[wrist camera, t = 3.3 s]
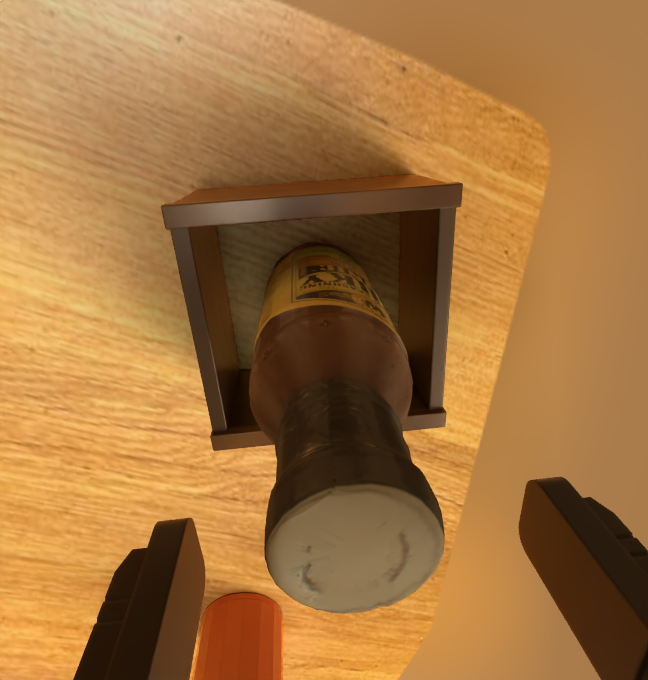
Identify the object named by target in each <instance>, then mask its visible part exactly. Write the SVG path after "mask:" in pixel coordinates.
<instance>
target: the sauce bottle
mask: <svg viewBox="0 0 648 680" xmlns="http://www.w3.org/2000/svg"><path fill="white" fill-rule="evenodd" d="M249 383H250V384H249V387H250V388H249V395H250V406H251V410H252V413H253V416H254V418H255V420H256V422H257V423H258V426H259V427H260V428H261V430H262V431H263V433H264V434H265V435H266V436H267V437H268V438H269V440H270V441H271V442H272V443H273V444H274V445H275V450H276V457H277V472H276V483H275V485H274V488H273V489H272V491H271V495H270V499H269V503H268V509H267V517H266V527H265V560H266V563H267V567H268V570H269V573H270V575H271V576H272V578H273V579H274V581H275V583H276V585H277V586H278V587H279V588H280V589H282V590H283V591H284V592H285V593H286V594H287V595H289V596H290V597H291V598H293V599H294V600H296V601H298V602H299V603H301V604H303V605H306V606H309V607H312V608H314V609H316V610H323V611H327V612H330V613H342V614H346V613H360V612H366V611H371V610H374V609H376V608H378V607H383V606H390V605H392V604H394V603H397V602H399V601H401V600H403V599H404V598H406V597H408V596H409V595H411V594H412V593H414V592H415V591H416V590H418V589H419V588H420V587H421V586H422V585H423V584H424V583H425V582H426V581H427V580H428V579H429V578H430V577H431V576H432V575H433V573H434V572H435V571H436V570H437V568H438V565H439V563H440V560H441V558H442V555H443V549H444V535H445V534H444V526H443V519H442V513H441V510H440V507H439V504H438V501H437V499H436V497H435V495H434V493H433V491H432V489H431V487H430V485H429V483H428V481H427V480H426V478H425V476H424V474H423V473H422V472H421V470H420V469H419V468H418V467H416V466H415V465H414V464H413V463H412V460H411V456H410V451H409V447H408V446H407V444H406V442H405V440H404V438H403V432H402V426H403V425H404V423H405V421H406V418H407V416H408V411H409V409H410V404H411V398H412V385H413V380H412V374H411V371H410V367H409V362H408V355H407V351H406V349H405V346H404V344H403V342H402V340H401V338H400V336H399V334H398V332H397V331H396V329H395V327H394V325H393V323H392V321H391V319H390V318H389V316H388V314H387V311H386V309H385V308H384V307H383V305H382V302H381V300H380V299H379V297H378V296H377V293H376V291H375V289H373V287H372V286H371V284H370V282H369V280H368V278H367V276H366V274H365V273H364V271H363V269H362V268H361V267H360V265H359V264H358V263H357V262H356V261H355V260H354V259H353V258H351V257H350V256H349V255H348V254H347V253H346V252H344V251H343V250H340V249H338V248H335V247H332V246H328V245H323V244H318V243H309V244H306V245H304V246H301V247H298V248H296V249H294V250H293V251H291V252H289V253H288V254H287V255H286V256H284V257H282V258H281V259H280V260H279V261H278V262H277V264H276V265H275V267H274V270H273V272H272V274H271V276H270V278H269V281H268V284H267V287H266V292H265V297H264V302H263V306H262V311H261V316H260V321H259V325H258V330H257V335H256V339H255V344H254V349H253V355H252V370H251V375H250V382H249Z"/></svg>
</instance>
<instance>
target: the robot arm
mask: <svg viewBox="0 0 648 680" xmlns="http://www.w3.org/2000/svg"><path fill="white" fill-rule="evenodd" d="M519 535H520V540H521V543H522V546H523V548H524V550H525V552H526V554H527V556H528V557H529V559H530V561H531V563H532V564H533V566H534V567H535V569H536V571H537V573H538V574H539V576H540V578H541V579H542V581H543V583H544V584H545V586H546V588H547V589H548V591H549V593H550V594H551V596H552V598H553V599H554V601H555V603H556V604H557V606H558V608H559V610H560V611H561V613H562V614H563V616H564V618H565V620H566V621H567V623H568V625H569V626H570V628H571V630H572V631H573V633H574V635H575V636H576V638H577V640H578V641H579V643H580V645H581V646H582V648H583V650H584V651H585V653H586V655H587V656H588V658H589V660H590V662H591V663H592V665H593V667H594V668H595V670H596V672H597V673H598V675H599V677H600V678H601V680H648V550H646V548H645V547H644V546H643V545H642V544H641V543H640V542H639V540H638V539H637V538H634V537H633V536H632V533H631V532H630V531H629V529H628V528H627V527H626V526H625V525H624V524H623V523H622V521H621V520H620V519H619V518H618V517H617V516H616V515H615V514H614V513H613V512H612V511H610V510H608V509H607V508H605V507H604V506H603V505H601V504H599V503H598V502H597V501H595V500H594V499H592V498H591V497H587V498H582V497H581V496H580V495H579V493H578V492H577V491H576V490H575V489H574V487H573V486H572V485H571V484H570V483H569V482H568V481H567V480H566V479H565V478H563V477H554V478H546V479H536V480H530V481H528V483H527V485H526V489H525V494H524V499H523V505H522V510H521V515H520V521H519ZM204 589H205V564H204V559H203V555H202V552H201V548H200V544H199V540H198V536H197V532H196V528H195V525H194V521H193V519H192V518H184V519H175V520H167V521H158V522H157V523H156V525H155V527H154V529H153V532H152V535H151V538H150V541H149V544H148V547H147V548H141V549H133V550H132V551H131V552H130V553H129V555H128V556H127V557H126V559H125V560H124V561H123V562H122V564H121V565H120V566H119V567H118V569H117V570H116V571H115V573H114V575H113V578H112V581H111V583H110V586H109V588H108V591H107V594H106V596H105V602H103V604H102V607H101V609H100V612H99V614H98V617H97V623H96V624H95V625H94V627H93V630H92V632H91V635H90V638H89V640H88V643H87V645H86V648H85V651H84V653H83V656H82V658H81V661H80V664H79V666H78V669H77V671H76V674H75V677H74V679H73V680H189V678H190V672H191V666H192V660H193V654H194V648H195V642H196V637H197V631H198V625H199V619H200V613H201V607H202V601H203V596H204Z"/></svg>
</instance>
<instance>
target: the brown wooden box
mask: <svg viewBox="0 0 648 680" xmlns="http://www.w3.org/2000/svg"><path fill="white" fill-rule="evenodd" d="M462 188H463V184H462V183H459V182H453V183H445V182H442V181H438V180H434V179H430V178H426V177H422V176H418V175H414V174H408V175H394V176H381V177H367V178H353V179H339V180H325V181H312V182H298V183H284V184H270V185H257V186H243V187H229V188H215V189H201V190H196V191H194V192H192V193H191V194H189V195H187V196H185V197H184V198H182V199H180V200H178V201H177V202H175V203H169V204H164V205H162V206H161V209H162V214H163V218H164V223H165V228H166V229H167V230H170V231H171V236H172V240H173V245H174V250H175V254H176V259H177V264H178V269H179V273H180V278H181V283H182V288H183V292H184V297H185V302H186V307H187V311H188V316H189V321H190V326H191V330H192V335H193V340H194V345H195V349H196V354H197V359H198V364H199V368H200V373H201V378H202V382H203V387H204V392H205V397H206V401H207V406H208V411H209V416H210V420H211V425H212V432H211V436H210V437H211V442H212V447H213V450H214V451H218V450H227V449H237V448H246V447H256V446H266V445H274V444H273V443H272V442H271V441H270V440H269V438H268V437H267V436H266V435H265V434H264V433H263V431H262V430H261V428H260V427H259V426H258V423H257V422H256V420H255V418H254V416H253V413H252V410H251V406H250V395H249V388H250V387H249V384H250V383H249V382H250V375H251V370H252V369H249V370H240V368H239V362H238V356H237V350H236V344H235V338H234V332H233V326H232V320H231V314H230V308H229V302H228V296H227V290H226V284H225V278H224V272H223V265H222V259H221V253H220V247H219V241H218V235H217V229H216V226H222V225H235V224H248V223H261V222H274V221H287V220H300V219H313V218H326V217H339V216H351V215H364V214H377V213H390V212H400V277H399V336H400V338H401V340H402V342H403V344H404V346H405V349H406V351H407V355H408V362H409V367H410V371H411V374H412V380H413V385H412V398H411V404H410V409H409V411H408V416H407V418H406V421H405V423H404V425H403V426H402V431H410V430H419V429H429V428H438V427H445V423H446V411H445V409H444V408H443V392H444V378H445V363H446V348H447V334H448V319H449V304H450V290H451V275H452V260H453V245H454V231H455V216H456V207H461V201H462Z"/></svg>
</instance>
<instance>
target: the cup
mask: <svg viewBox="0 0 648 680" xmlns="http://www.w3.org/2000/svg"><path fill="white" fill-rule="evenodd" d="M192 680H283V617H282V611H281V609H280V607H279V606H278V604H276V603H275V602H274V601H273V600H271V599H270V598H268V597H265V596H263V595H259V594H254V593H236V594H231V595H227V596H224V597H222V598H219V599H218V600H216V601H214V602H213V603H212V604H211V605H210V606H209V607H208V608H207V609H206V611H205V613H204V616H203V621H202V624H201V629H200V635H199V641H198V647H197V653H196V659H195V665H194V671H193V677H192Z"/></svg>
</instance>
